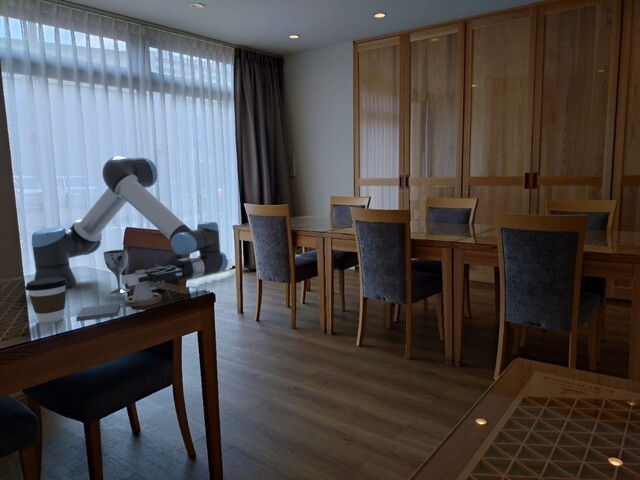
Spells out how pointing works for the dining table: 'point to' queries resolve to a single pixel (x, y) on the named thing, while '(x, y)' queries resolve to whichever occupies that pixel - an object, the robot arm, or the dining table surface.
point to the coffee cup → (48, 298)
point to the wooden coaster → (142, 303)
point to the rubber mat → (98, 311)
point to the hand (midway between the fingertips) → (125, 281)
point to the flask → (142, 290)
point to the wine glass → (116, 266)
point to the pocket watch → (156, 283)
